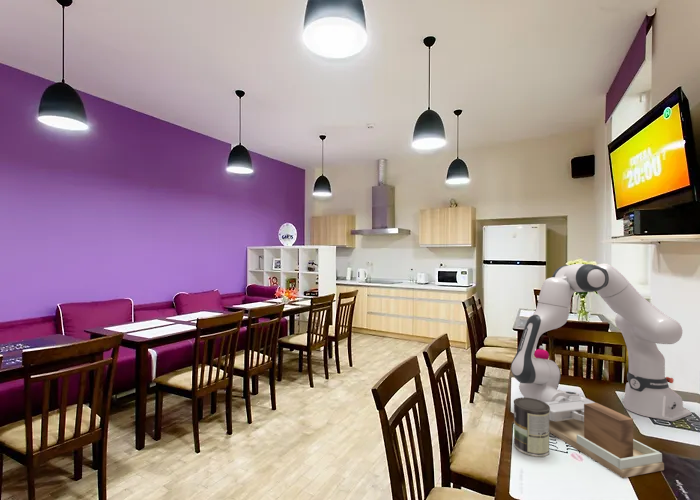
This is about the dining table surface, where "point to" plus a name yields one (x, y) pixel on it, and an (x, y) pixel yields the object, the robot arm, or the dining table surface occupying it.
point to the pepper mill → (541, 353)
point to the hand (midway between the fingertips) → (590, 420)
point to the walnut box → (608, 429)
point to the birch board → (569, 433)
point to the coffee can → (531, 426)
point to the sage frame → (624, 463)
